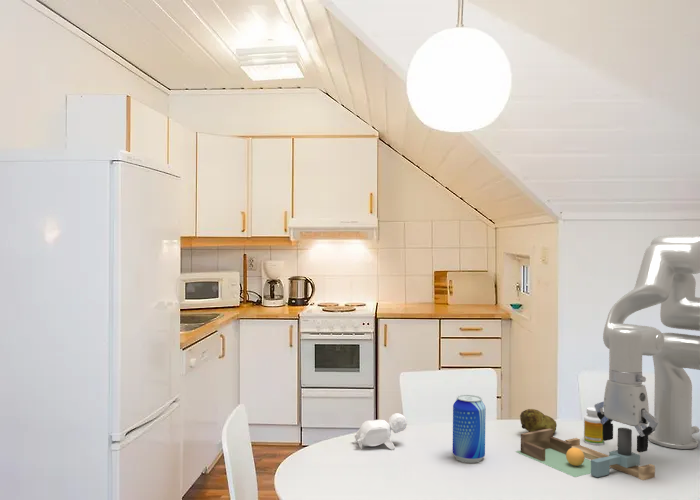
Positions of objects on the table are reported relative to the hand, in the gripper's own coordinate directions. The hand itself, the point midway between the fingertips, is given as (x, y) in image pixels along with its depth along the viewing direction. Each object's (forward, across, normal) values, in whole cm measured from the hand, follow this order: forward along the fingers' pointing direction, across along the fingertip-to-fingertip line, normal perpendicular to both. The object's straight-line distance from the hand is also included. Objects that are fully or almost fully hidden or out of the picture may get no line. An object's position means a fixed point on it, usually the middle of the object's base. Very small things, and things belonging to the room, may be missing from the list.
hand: (624, 445), depth 146 cm
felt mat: (+6, +12, +9) cm, 16 cm away
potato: (+6, +30, -2) cm, 31 cm away
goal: (+6, +17, +9) cm, 20 cm away
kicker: (+6, 0, +4) cm, 7 cm away
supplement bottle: (+6, +18, -11) cm, 22 cm away
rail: (+6, +5, 0) cm, 8 cm away
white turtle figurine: (+7, +43, +45) cm, 63 cm away
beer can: (+6, +24, +30) cm, 39 cm away
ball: (+6, +8, +9) cm, 13 cm away
